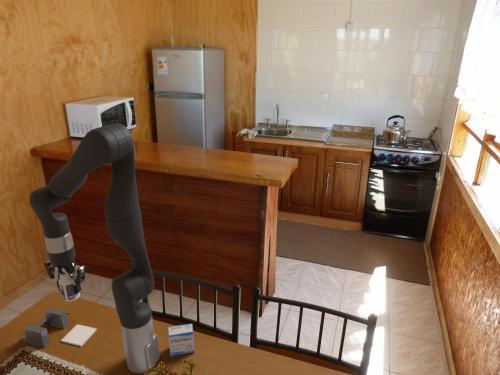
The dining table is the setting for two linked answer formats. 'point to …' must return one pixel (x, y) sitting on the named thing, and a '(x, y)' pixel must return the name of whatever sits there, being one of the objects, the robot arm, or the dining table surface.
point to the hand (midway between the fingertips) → (69, 290)
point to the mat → (79, 335)
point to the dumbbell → (39, 332)
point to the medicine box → (181, 339)
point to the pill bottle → (67, 288)
